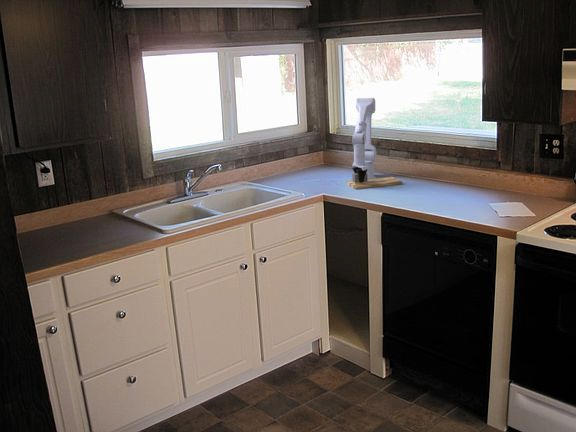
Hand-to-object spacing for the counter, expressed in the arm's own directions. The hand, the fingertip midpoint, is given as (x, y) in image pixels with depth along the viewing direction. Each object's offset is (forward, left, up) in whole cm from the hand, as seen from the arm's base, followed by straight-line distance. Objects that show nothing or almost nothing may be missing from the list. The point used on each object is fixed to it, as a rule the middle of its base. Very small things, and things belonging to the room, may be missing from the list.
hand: (360, 181), depth 331 cm
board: (0, +8, -2) cm, 8 cm away
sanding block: (0, 0, -1) cm, 1 cm away
